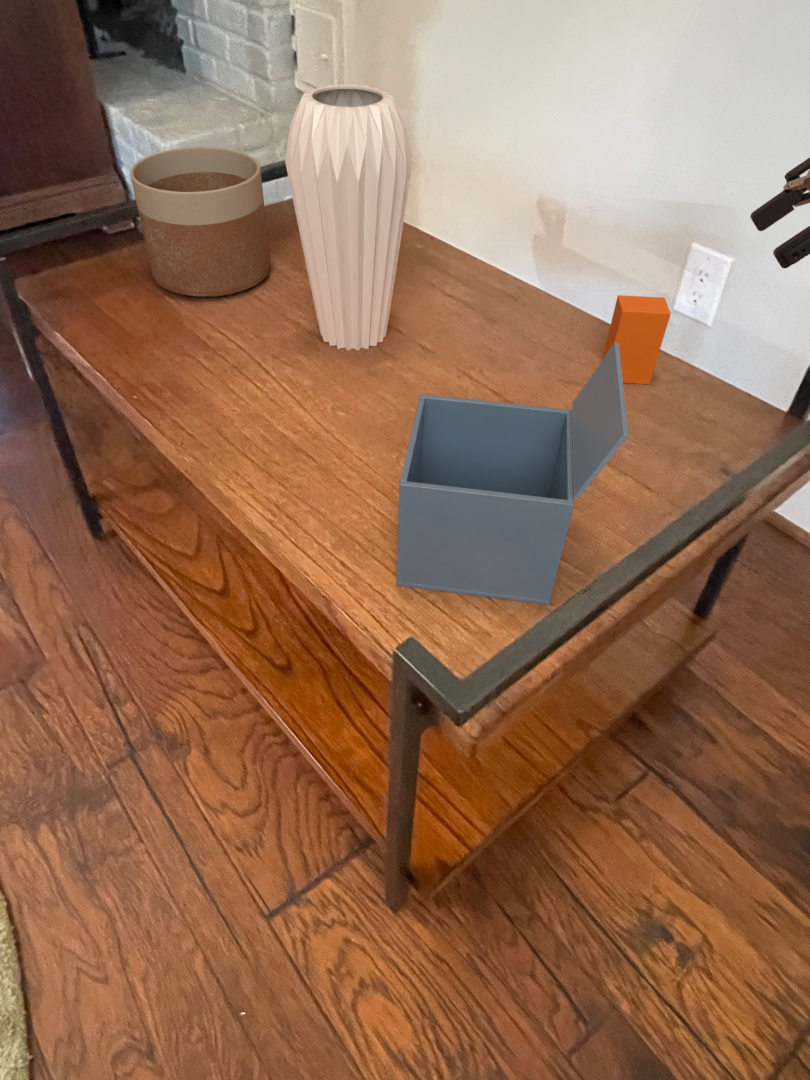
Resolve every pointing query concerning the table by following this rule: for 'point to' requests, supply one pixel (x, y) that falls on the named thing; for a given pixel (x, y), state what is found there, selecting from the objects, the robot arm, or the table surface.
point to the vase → (350, 205)
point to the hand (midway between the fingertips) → (765, 241)
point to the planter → (202, 220)
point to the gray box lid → (598, 420)
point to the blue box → (485, 498)
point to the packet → (638, 335)
